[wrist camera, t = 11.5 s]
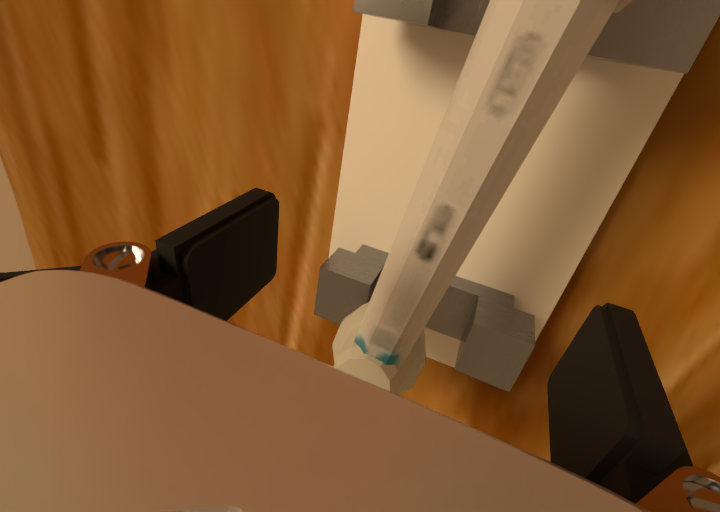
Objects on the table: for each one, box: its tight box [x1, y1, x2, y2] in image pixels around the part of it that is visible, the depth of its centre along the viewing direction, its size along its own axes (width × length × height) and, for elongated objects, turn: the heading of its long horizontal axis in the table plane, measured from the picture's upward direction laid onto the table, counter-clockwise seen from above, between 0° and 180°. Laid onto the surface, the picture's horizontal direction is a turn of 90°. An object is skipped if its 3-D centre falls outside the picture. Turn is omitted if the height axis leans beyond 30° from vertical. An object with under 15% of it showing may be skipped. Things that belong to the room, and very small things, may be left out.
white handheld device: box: [332, 0, 632, 395], centre depth 17 cm, size 5×7×25 cm
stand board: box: [329, 14, 684, 368], centre depth 24 cm, size 30×16×2 cm, turn 170°
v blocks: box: [314, 0, 720, 392], centre depth 21 cm, size 22×14×4 cm, turn 170°
